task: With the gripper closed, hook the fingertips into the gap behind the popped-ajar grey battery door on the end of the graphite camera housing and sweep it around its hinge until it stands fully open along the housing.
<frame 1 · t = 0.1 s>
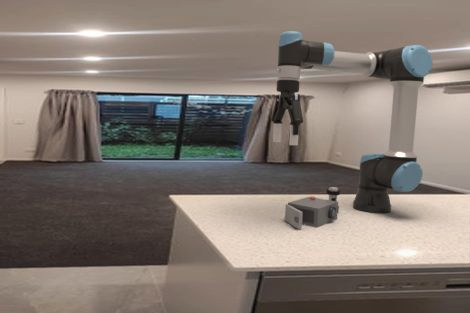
hand: (284, 143, 136), 28 cm above the counter, fingers open, 13 cm apart
housing: (312, 219, 146), on the counter
push button: (330, 213, 158), on the counter
door: (292, 216, 137), point 3 cm above the counter, hinge at 35.0°
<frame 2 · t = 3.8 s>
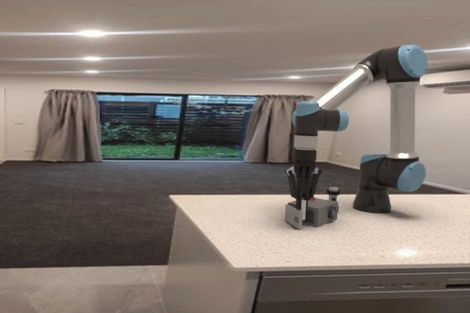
hand: (300, 218, 134), 3 cm above the counter, fingers closed
door: (292, 216, 137), point 3 cm above the counter, hinge at 35.0°, touching gripper
everything else where it was.
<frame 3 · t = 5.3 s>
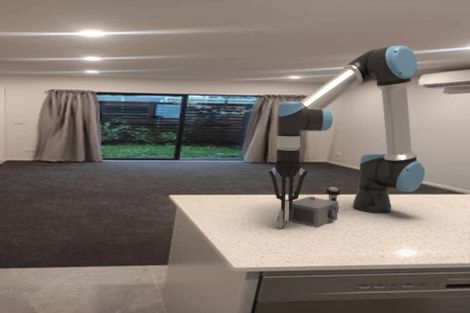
hand: (286, 219, 133), 3 cm above the counter, fingers closed
door: (282, 215, 137), point 3 cm above the counter, hinge at 69.9°, touching gripper
everything else where it was.
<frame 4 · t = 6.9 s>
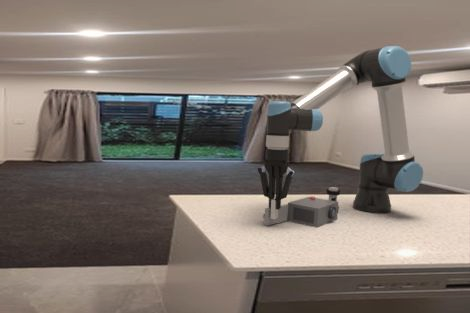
hand: (274, 218, 135), 3 cm above the counter, fingers closed
door: (276, 214, 138), point 3 cm above the counter, hinge at 98.0°, touching gripper
everything else where it was.
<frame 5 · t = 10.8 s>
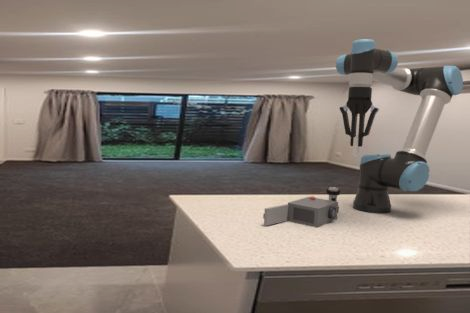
hand: (355, 155, 138), 24 cm above the counter, fingers closed
door: (276, 214, 138), point 3 cm above the counter, hinge at 98.1°
everything else where it was.
at the end: door at +98° (first picture: +35°); door touching nothing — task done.
